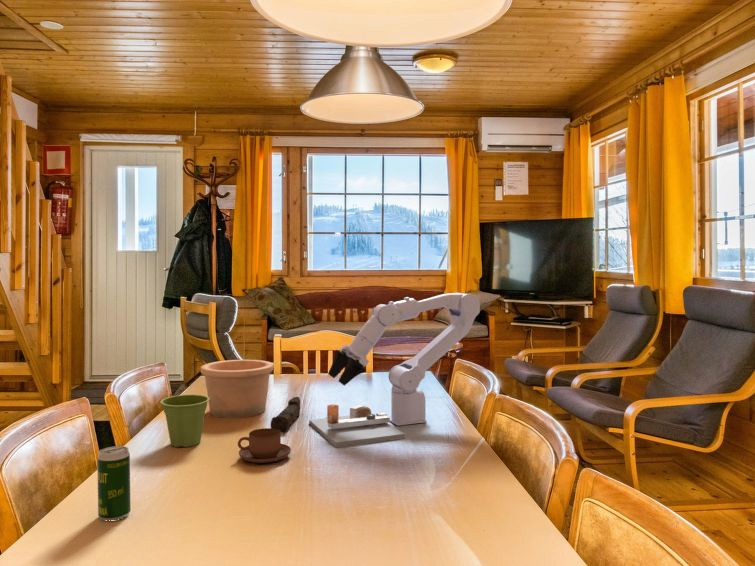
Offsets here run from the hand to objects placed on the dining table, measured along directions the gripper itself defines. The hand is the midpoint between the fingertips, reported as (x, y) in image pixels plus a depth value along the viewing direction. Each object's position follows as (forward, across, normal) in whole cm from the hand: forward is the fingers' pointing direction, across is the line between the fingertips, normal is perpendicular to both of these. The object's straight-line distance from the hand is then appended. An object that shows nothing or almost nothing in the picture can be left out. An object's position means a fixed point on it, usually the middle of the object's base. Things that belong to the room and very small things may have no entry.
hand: (336, 379), depth 164 cm
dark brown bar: (+18, -11, +2) cm, 21 cm away
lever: (+6, +6, +11) cm, 14 cm away
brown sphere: (+4, 0, +15) cm, 15 cm away
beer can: (+44, +36, -38) cm, 69 cm away
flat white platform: (+8, +6, +11) cm, 15 cm away
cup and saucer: (+25, +17, -11) cm, 32 cm away
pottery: (+26, -29, -5) cm, 39 cm away
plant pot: (+36, -2, -22) cm, 42 cm away
